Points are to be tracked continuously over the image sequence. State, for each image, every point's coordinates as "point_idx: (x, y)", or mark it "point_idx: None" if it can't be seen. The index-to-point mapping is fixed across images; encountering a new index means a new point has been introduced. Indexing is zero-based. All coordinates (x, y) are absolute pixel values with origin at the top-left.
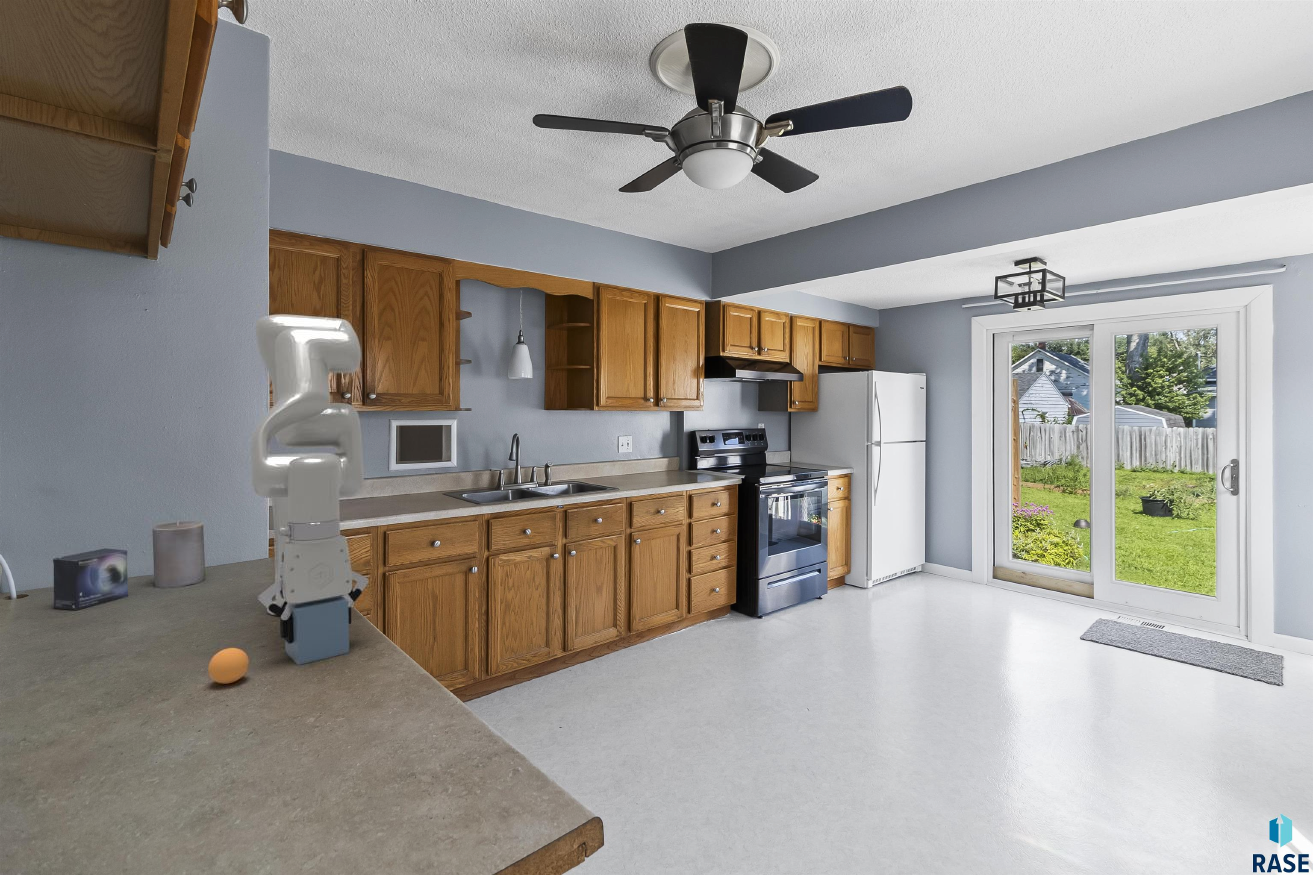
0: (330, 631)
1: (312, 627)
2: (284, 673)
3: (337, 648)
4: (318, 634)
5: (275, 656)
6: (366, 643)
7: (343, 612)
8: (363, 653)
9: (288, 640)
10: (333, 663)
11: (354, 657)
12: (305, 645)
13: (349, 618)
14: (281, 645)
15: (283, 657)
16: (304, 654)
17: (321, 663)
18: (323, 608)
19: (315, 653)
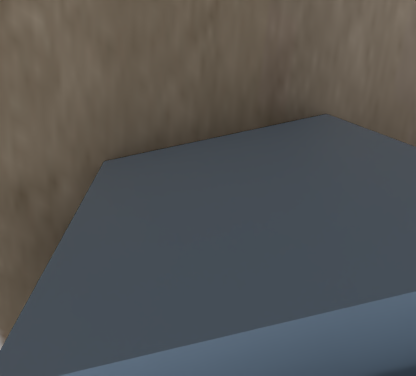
0: (198, 186)
1: (337, 178)
2: (391, 34)
3: (156, 158)
4: (274, 170)
5: None
6: (24, 245)
7: (84, 275)
8: (34, 110)
9: None
10: (182, 42)
11: (79, 74)
12: (330, 138)
13: None
14: None
15: None
16: (315, 129)
17: (233, 77)
18: (304, 284)
19: (262, 138)
